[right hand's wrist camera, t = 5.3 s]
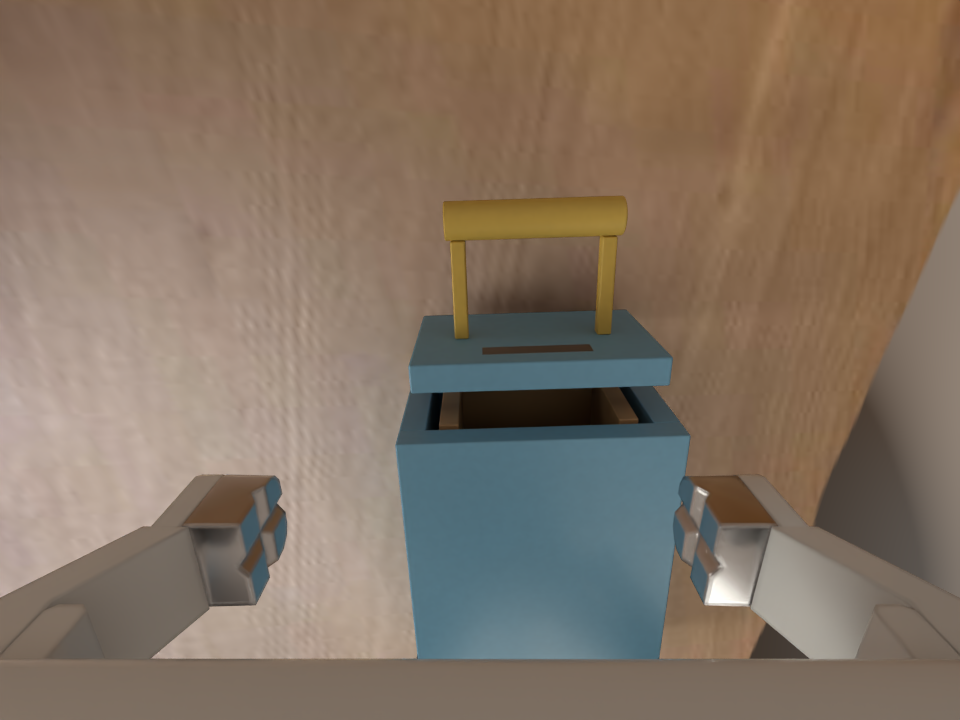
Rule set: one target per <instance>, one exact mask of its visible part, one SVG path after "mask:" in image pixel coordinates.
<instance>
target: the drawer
mask: <svg viewBox="0 0 960 720" xmlns="http://www.w3.org/2000/svg"><path fill="white" fill-rule="evenodd" d="M627 216H628V210H627V202H626V199H625V197H624V196H599V197H567V198H536V199H505V200H474V201H445V202H443V228H444V238H445V240H446V241H451V242H450V252H451V271H452V291H453V311H454V315H442V316H424V318H423V321H422V324H421V328H420V331H419V334H418V337H417V341H416V344H415V347H414V351H413V354H412V357H411V360H410V364H409V379H410V390H411V393H443V399H442V406H441V414H440V422H439V430H456V429H487V428H519V427H550V426H582V425H613V424H638V418H637V416H636V414H635V413H634V411H633V410H632V408H631V406H630V405H629V403H628V402H627V400H626V398H625V397H624V395H623V393H622V392H621V390H620V389H619V387H632V386H664V385H669V384H670V378H671V370H672V361H673V358H672V356H671V355H670V354H669V353H668V352H667V351H666V350H665V349H664V348H663V347H662V346H661V345H660V344H659V343H658V342H657V341H656V340H655V339H654V338H653V337H652V336H651V335H650V334H649V333H648V332H647V331H646V330H645V329H644V328H643V327H642V326H641V324H640V323H639V322H638V321H637V320H636V319H635V318H634V317H633V316H632V315H631V314H630V313H629V312H628V311H627V310H613V296H614V282H615V267H616V253H617V239H618V238H617V235H622V234H623V233H624V231H625V229H626V225H627ZM586 236H600V244H599V261H598V279H597V297H596V311H568V312H536V313H505V314H474V315H468V298H467V273H466V248H465V240H492V239H523V238H555V237H586Z"/></svg>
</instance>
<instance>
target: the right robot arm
mask: <svg viewBox="0 0 960 720" xmlns="http://www.w3.org/2000/svg"><path fill="white" fill-rule="evenodd" d="M281 495H282V490H281V486H280V481H279V479H278V478H277V477H276V476H266V475H200V476H196V477H195V478H194V479H193V480H192V481H191V482H190V483H189V485H188V486H187V487H186V488H185V489H184V490H183V491H182V492H181V494H180V495H179V496H178V497H177V498H176V499H175V500H174V501H173V503H172V504H171V505H170V506H169V507H168V508H167V509H166V510H165V512H164V513H163V514H162V515H161V516H160V517H159V518H158V519H157V521H156V522H155V523H154V524H153V525H152V526H151V527H141V528H139V529H137V530H135V531H133V532H131V533H129V534H127V535H125V536H123V537H121V538H119V539H117V540H115V541H113V542H111V543H109V544H107V545H105V546H103V547H101V548H99V549H97V550H95V551H93V552H91V553H89V554H87V555H85V556H83V557H81V558H79V559H77V560H75V561H73V562H71V563H69V564H67V565H65V566H63V567H61V568H59V569H57V570H55V571H53V572H51V573H49V574H47V575H45V576H43V577H41V578H39V579H37V580H35V581H33V582H31V583H29V584H27V585H25V586H23V587H21V588H19V589H17V590H15V591H13V592H11V593H9V594H7V595H5V596H3V597H1V598H0V720H960V598H959V597H957V596H955V595H953V594H951V593H949V592H947V591H945V590H943V589H941V588H939V587H937V586H935V585H933V584H931V583H929V582H927V581H925V580H923V579H921V578H919V577H917V576H915V575H913V574H911V573H909V572H907V571H905V570H903V569H901V568H899V567H897V566H895V565H893V564H891V563H889V562H887V561H885V560H883V559H881V558H879V557H877V556H875V555H873V554H871V553H869V552H867V551H865V550H863V549H861V548H859V547H857V546H855V545H853V544H851V543H849V542H847V541H845V540H843V539H841V538H839V537H837V536H835V535H833V534H831V533H829V532H827V531H825V530H823V529H821V528H819V527H809V526H808V525H807V524H806V523H805V522H804V521H803V519H802V518H801V517H800V516H799V515H798V514H797V513H796V512H795V510H794V509H793V508H792V507H791V506H790V505H789V504H788V503H787V501H786V500H785V499H784V498H783V497H782V496H781V495H780V494H779V492H778V491H777V490H776V489H775V488H774V487H773V486H772V485H771V483H770V482H769V481H768V480H767V479H766V478H765V477H763V476H761V475H759V474H750V475H733V476H683V478H682V480H681V482H680V485H679V490H678V495H679V497H680V498H681V500H682V502H683V504H682V505H681V506H680V507H679V508H678V509H677V510H676V511H675V513H674V521H673V534H674V542H675V545H676V549H677V551H678V553H679V556H680V558H681V560H682V561H684V562H685V563H687V564H688V565H690V566H691V567H692V571H691V576H690V578H691V580H692V582H693V584H694V586H695V588H696V590H697V592H698V594H699V596H700V598H701V600H702V602H703V604H704V605H716V606H751V608H750V609H751V610H753V611H754V612H755V613H756V614H757V615H759V616H760V617H761V618H762V619H763V620H765V621H766V622H767V623H768V624H769V625H771V626H772V627H773V628H774V629H775V630H776V631H778V632H779V633H780V634H781V635H782V636H784V637H785V638H786V639H787V640H788V641H790V642H791V643H792V644H793V645H794V646H796V647H797V648H798V649H799V650H800V651H801V652H803V653H804V654H805V655H806V656H807V657H809V658H810V659H150V658H152V657H153V656H154V655H155V654H156V653H158V652H159V651H160V650H161V649H162V648H163V647H165V646H166V645H167V644H168V643H169V642H171V641H172V640H173V639H174V638H175V637H177V636H178V635H179V634H180V633H181V632H183V631H184V630H185V629H186V628H187V627H189V626H190V625H191V624H192V623H193V622H194V621H196V620H197V619H198V618H199V617H200V616H202V615H203V614H204V613H205V612H206V611H208V610H209V606H243V605H256V604H257V602H258V600H259V598H260V596H261V594H262V592H263V590H264V588H265V586H266V584H267V582H268V580H269V578H270V576H269V571H268V567H269V566H270V565H272V564H273V563H275V562H276V561H278V560H279V558H280V555H281V553H282V551H283V549H284V545H285V540H286V536H287V519H286V513H285V511H284V510H283V509H282V508H281V507H280V506H279V505H278V504H277V502H278V500H279V498H280V497H281Z"/></svg>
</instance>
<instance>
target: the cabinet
mask: <svg viewBox="0 0 960 720" xmlns="http://www.w3.org/2000/svg"><path fill="white" fill-rule="evenodd" d="M619 389H620V390H621V392H622V393H623V395H624V397H625V398H626V400H627V402H628V403H629V405H630V406H631V408H632V410H633V411H634V413H635V414H636V416H637V418H638V424H613V425H582V426H550V427H519V428H487V429H456V430H439V422H440V414H441V406H442V399H443V393H411V390H410V393H409V397H408V400H407V404H406V408H405V412H404V415H403V419H402V423H401V427H400V430H399V434H398V438H397V442H396V445H395V446H396V456H397V465H398V474H399V484H400V493H401V503H402V512H403V522H404V531H405V541H406V550H407V560H408V569H409V579H410V588H411V598H412V607H413V617H414V626H415V636H416V645H417V655H418V659H659V655H660V648H661V641H662V634H663V627H664V620H665V613H666V606H667V599H668V592H669V585H670V578H671V570H672V563H673V556H674V549H675V542H674V534H673V521H674V513H675V511H676V510H677V509H678V508H679V507H680V506H681V498H680V497H679V495H678V490H679V485H680V482H681V480H682V478H683V476H685V472H686V464H687V457H688V450H689V443H690V434H689V433H688V432H687V430H686V429H685V428H684V426H683V425H682V424H681V423H680V421H679V420H678V418H677V417H676V416H675V415H674V413H673V412H672V411H671V409H670V408H669V407H668V405H667V404H666V403H665V402H664V400H663V399H662V398H661V396H660V395H659V394H658V392H657V391H656V390H655V389H654V387H653V386H632V387H619Z"/></svg>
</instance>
